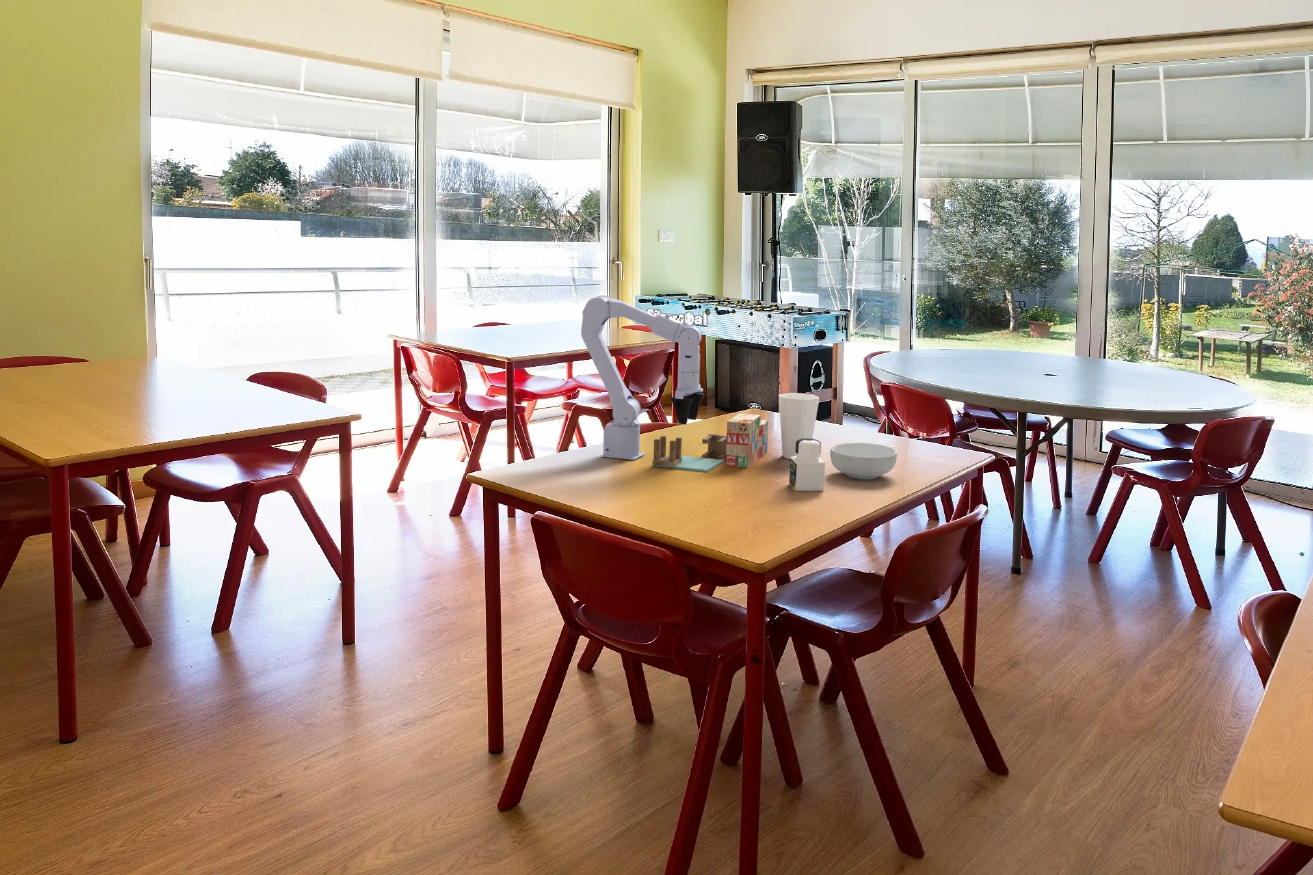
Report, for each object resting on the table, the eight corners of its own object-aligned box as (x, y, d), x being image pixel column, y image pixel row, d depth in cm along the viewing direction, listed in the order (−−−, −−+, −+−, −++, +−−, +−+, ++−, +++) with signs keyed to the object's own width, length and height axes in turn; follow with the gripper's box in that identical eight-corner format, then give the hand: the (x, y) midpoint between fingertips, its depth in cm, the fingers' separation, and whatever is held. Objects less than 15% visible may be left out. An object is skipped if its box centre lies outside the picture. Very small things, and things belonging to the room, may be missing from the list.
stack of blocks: (746, 450, 300) (747, 407, 297) (767, 452, 298) (769, 409, 295) (725, 465, 280) (726, 420, 277) (748, 468, 278) (749, 422, 275)
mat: (653, 466, 277) (653, 463, 277) (671, 456, 289) (671, 454, 289) (707, 472, 272) (707, 469, 271) (723, 462, 283) (723, 460, 283)
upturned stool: (652, 464, 276) (652, 439, 275) (660, 459, 282) (661, 435, 280) (673, 466, 274) (674, 441, 273) (682, 462, 280) (682, 437, 278)
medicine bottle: (788, 484, 261) (791, 436, 259) (817, 484, 262) (819, 436, 259) (794, 491, 254) (797, 442, 252) (823, 491, 255) (826, 442, 252)
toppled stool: (701, 438, 285) (709, 433, 291) (701, 459, 286) (709, 454, 292) (722, 440, 283) (730, 435, 289) (722, 462, 284) (729, 456, 290)
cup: (771, 458, 289) (773, 397, 286) (781, 451, 298) (784, 391, 295) (811, 462, 285) (814, 400, 282) (820, 455, 294) (823, 395, 291)
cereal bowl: (816, 471, 276) (818, 444, 275) (870, 466, 282) (871, 440, 281) (853, 486, 261) (854, 458, 259) (908, 481, 267) (910, 453, 266)
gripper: (693, 375, 273) (692, 427, 276) (711, 369, 286) (710, 418, 289) (668, 374, 275) (667, 425, 278) (687, 367, 289) (685, 416, 291)
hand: (687, 421), depth 284 cm, fingers open, 7 cm apart
